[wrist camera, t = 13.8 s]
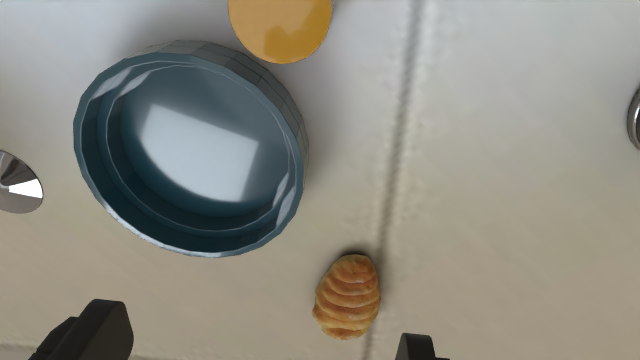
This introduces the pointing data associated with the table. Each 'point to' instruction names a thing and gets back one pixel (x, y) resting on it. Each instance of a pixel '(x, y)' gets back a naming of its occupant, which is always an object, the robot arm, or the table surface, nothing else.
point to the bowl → (193, 148)
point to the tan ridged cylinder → (281, 27)
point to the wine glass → (18, 186)
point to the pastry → (347, 297)
